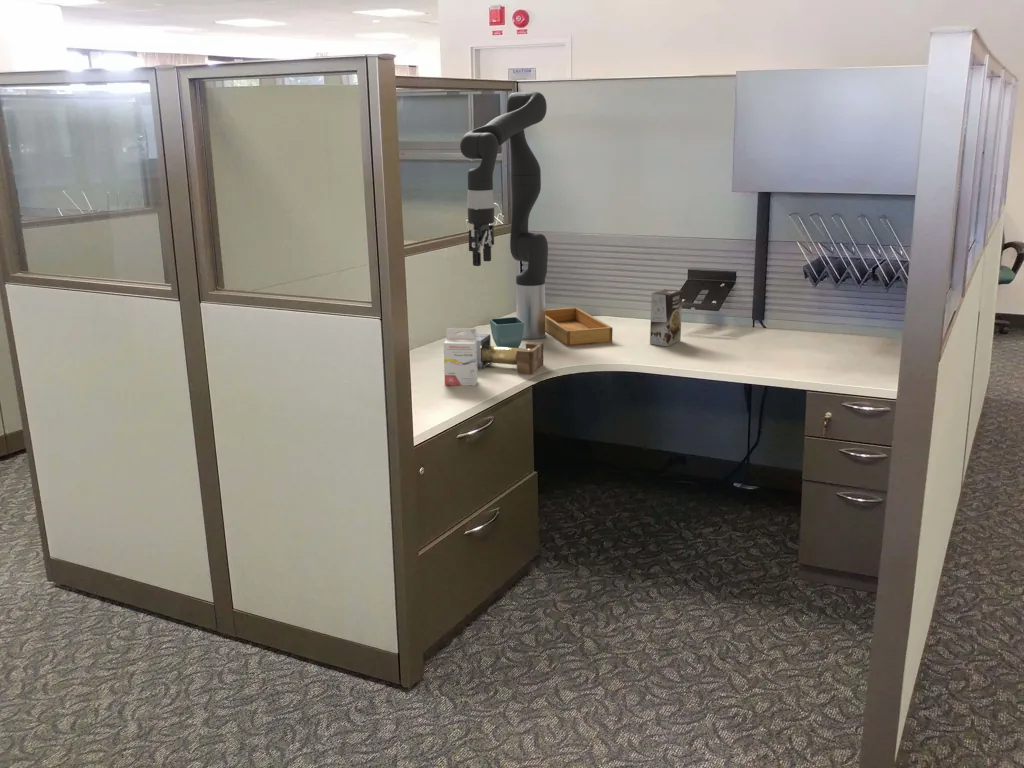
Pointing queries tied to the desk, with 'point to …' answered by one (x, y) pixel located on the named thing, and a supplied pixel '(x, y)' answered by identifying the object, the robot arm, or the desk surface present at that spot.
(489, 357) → the tube
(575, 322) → the tray
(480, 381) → the desk surface
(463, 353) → the ink cartridge box
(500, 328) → the flower pot
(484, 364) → the sleeve
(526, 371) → the socket
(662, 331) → the coffee box
